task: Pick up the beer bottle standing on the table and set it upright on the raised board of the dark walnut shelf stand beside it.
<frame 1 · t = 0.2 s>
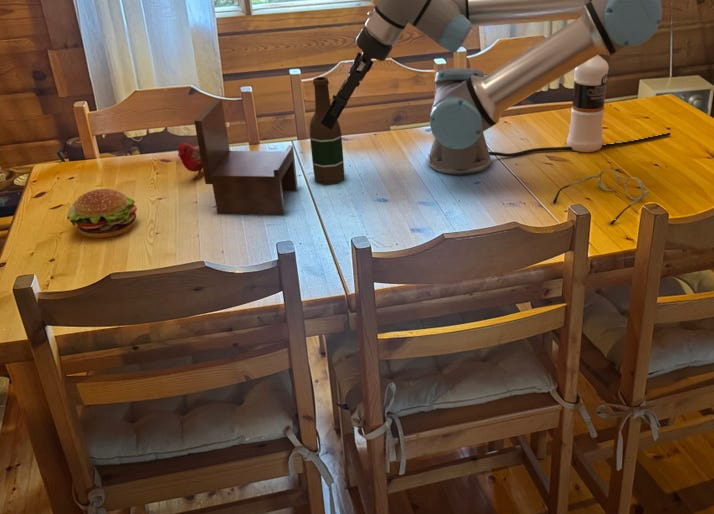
hand: (331, 116, 186), 16 cm above the table, tool tilted 35°, fingers open, 13 cm apart
shelf stand: (258, 200, 187), on the table
food: (105, 228, 177), on the table
beer bottle: (329, 179, 198), on the table
decorative bird figurine: (202, 174, 202), on the table
eyeglasses: (601, 204, 183), on the table
vodka: (584, 147, 213), on the table
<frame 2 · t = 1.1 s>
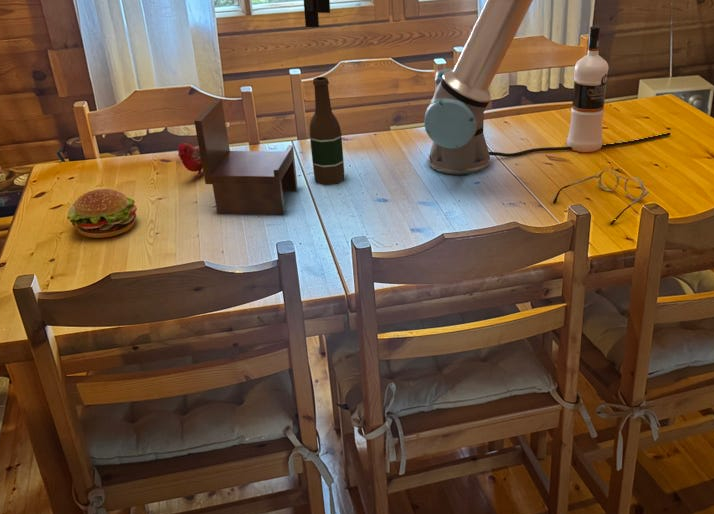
hand: (318, 19, 177), 37 cm above the table, tool pointing down, fingers open, 13 cm apart
nothing on the table moved.
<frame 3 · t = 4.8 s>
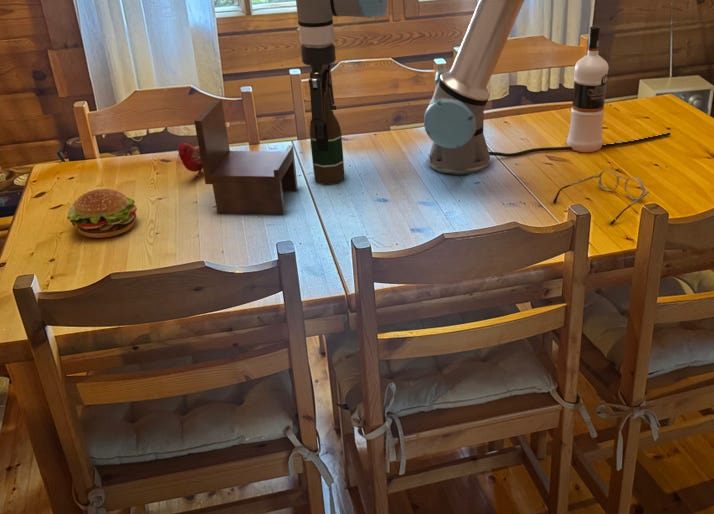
hand: (326, 144, 193), 9 cm above the table, tool pointing down, fingers closed on beer bottle, 8 cm apart
beer bottle: (329, 179, 198), on the table, touching gripper
everything else where it was.
when the fingers open (18 cm above the table, at t = 11.0 s): beer bottle stays where it is, resting on shelf stand.
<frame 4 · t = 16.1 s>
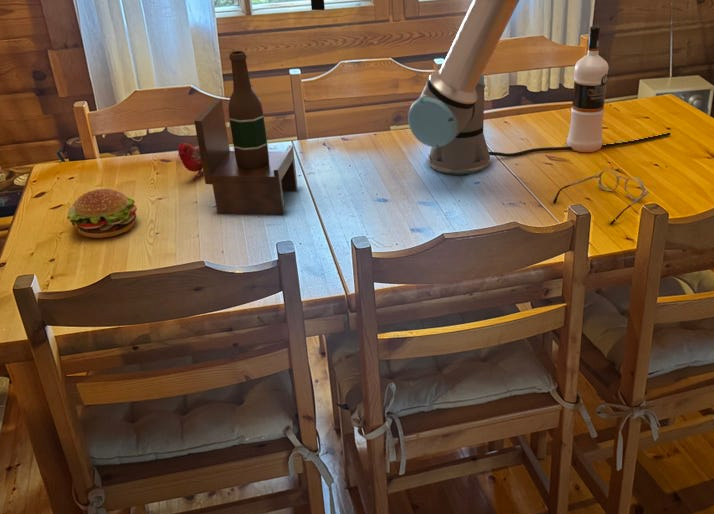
hand: (324, 3, 181), 39 cm above the table, tool pointing down, fingers open, 13 cm apart
beer bottle: (253, 164, 182), point 9 cm above the table, touching shelf stand
everything else where it was.
at the end: beer bottle inside the target area on the shelf stand (0.0 cm from its centre), point 8.8 cm above the shelf stand's base; beer bottle tilted 0°; the gripper is holding nothing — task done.
